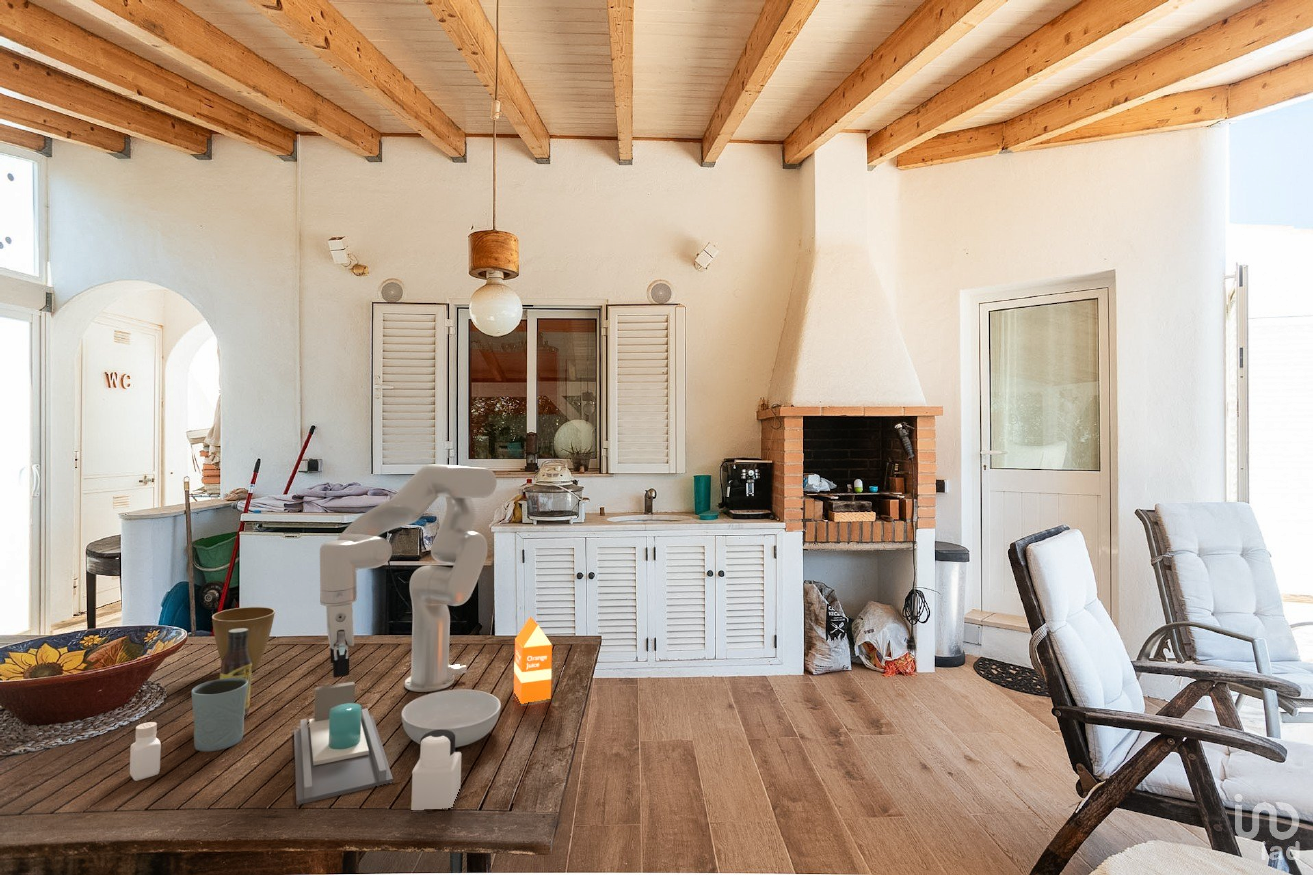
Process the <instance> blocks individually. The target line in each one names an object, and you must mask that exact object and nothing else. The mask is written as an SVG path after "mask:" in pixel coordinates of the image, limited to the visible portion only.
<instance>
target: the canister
mask: <svg viewBox="0 0 1313 875" xmlns="http://www.w3.org/2000/svg"><path fill="white" fill-rule="evenodd" d="M361 718H362V705H361V704H359V703H355V702H354V703H347V704H341V705H338V706H335V707H333V708H331V709H330V714H329V747H330V748H332V749H346V748H350V747H353V746H355V745H357V744H358V743H359V742H360V737H361Z"/></svg>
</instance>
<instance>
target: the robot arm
mask: <svg viewBox="0 0 1313 875" xmlns="http://www.w3.org/2000/svg"><path fill="white" fill-rule="evenodd" d="M497 484H498V482H497V477H496V475H495V473H494V472H493V471H492V470H491V469H489V468H488V467H473V466H472V467H471V466H463V465H454V464H453V465H452V464H428V465H427V464H426V465H425V466H422V467H421V468H420V469H418V470H417V472H415V473H414V474H413V476H412V477H410V479H409V480H408V481H406V483H405V484H404V485H403V486H402V487H401V488H400V489H399V490H398V491H397V493H395V494H394V496H392V497H391V498H390V499H389V500H388V501H385V502H383V503H380V504H379V505H377V506H375V507H373V508H371V509H369V510H368V511H366V512H365V513H362V514H361V515H360V516H358V517H357V518H355V520H353V521H352V522H351V523H350V524H349V525H348V526H347V527H346V528H345V530H343V532H342V533H341V534H340V535H339V536H338V538H337V539H336V540H331V541H327V542H324V543H323V544H321V546H320V548H319V586H320V589H319V592H320V595H319V596H320V601H319V602H320V603H319V604H320V605H322V606H326V629H327V631H326V632H327V638H328V643H329V646H330V647H329V649H330V652H329V653H330V656H329V657H330V659H329V660H330V664H332V669H333V670H332V673H333V674H332V675H333V678H334V679H336V678H341V677H346V676H350V656H349V646H350V647H353V646H354V645H355V635H354V632H355V631H354V629H355V628H354V609H353V603H354V602H356V601H357V599H358V592H357V590H358V589H357V588H358V586H357V575H358V574H357V571H359V570H365V569H376V568H379V567H382V566H383V565H385V564H387V562H388V561H389V560H390V559H391V557H392V554H393V547H392V544H391V543H390V542H389V540H388V539H386V538H384V537H381V536H380V535H382V534H384V533H386V532H389V531H391V530H394V529H398V528H402V527H405V526H408V525H411V524H413V523H415V522H417V521H418V520H419V519H420V518H421V517H422V516H423V514H424V513H425V512H426V511H427V510H428V509H429V508H430V507H431V506H432V505H433V503H434V502H435V501H436V500H437V499H439V497H442V498H443V497H444V498H445V501H446V511H445V515H444V516H443V519H442V521H441V524H440V526H439V527H438V528H439V529H438V530H437V533H436V535H435V538H434V539H433V542H432V545H431V548H430V555H431V557H432V558H433V559H434V560H435V561H436V562H439V563H441V564H442V563H443V564H448V565H452V566H453V567H447V566H442V565H423V566H421V567H419V568H417V569H416V570H414V572H413V573H412V575H411V577H410V579H409V595H410V599H411V606H412V607H411V608H412V627H411V628H412V630H411V631H412V632H411V636H412V637H411V662H410V663H411V664H410V676H409V677H407V678H406V679H405V680H404V687H405V689H407V690H409V691H412V692H416V693H417V692H419V693H424V692H425V693H427V692H437V691H440V690H441V691H442V690H444V689H446V688H448V687H450V686H451V685H453V684H454V682H455V675H457V674H459V675H460V674H466V673H467V670H468V669H467V665H461V666H460V664H453V665H451V664H450V662H449V661H450V632H451V631H450V627H451V626H450V625H451V615H450V610H449V606H453V607H457V606H461V605H464V604H465V603H466V602H467V601H468V600H469V599H470V598H471V597H472V594H473V591H474V589H475V587H476V585H477V583H478V580H479V577H480V575H481V573H482V570H483V568H484V565H485V562H486V559H487V557H488V541H487V538H486V537H485V536H484V535H483V534H482V533H480V532H477V531H474V530H473V529H474V526H475V523H476V521H477V510H476V506H475V504H474V501H473V499H485V498H488V497H490V496H491V495H492V494H494V492H495V490H496V489H497Z"/></svg>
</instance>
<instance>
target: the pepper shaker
mask: <svg viewBox="0 0 1313 875" xmlns="http://www.w3.org/2000/svg"><path fill="white" fill-rule="evenodd" d="M157 726H158V723H157V722H156V721H149V722H144V723H141V724H138V725H137V726H135V742H133V743H132V744H131V745H130V752H129V753H130V755H129V774H130V776H131V778H132V779H133V780H134V781H135V782H136V781H137V782H138V781H141V780H144V779H149V778H150V777H154V776H157V775H158V774H159V773H160V771H161V770H160V769H161V747H162V744H161V741H160V739H159V738H157V733H158V732H157Z"/></svg>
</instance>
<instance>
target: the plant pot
mask: <svg viewBox="0 0 1313 875" xmlns="http://www.w3.org/2000/svg"><path fill="white" fill-rule="evenodd" d="M275 615H276V609H274V608H271V607H267V606H266V607H263V606H247V607H246V606H245V607H238V608H237V607H236V608H230V609H225V610H222V611H219V612H216V613H214V614H212V616H211V622H212V630H213V634H214V635H213V636H214V641H215V645H216V650H217V652H218V655H219V659H220V661H221V662H222V659H223V658H224V656H225V655H226V653H227V652H228V643H229V638H228V631H229V630H232V629H238V628H247V629H248V630H249V631H248V633H249V634H248V636H247V649H248V653H249V656H250V660H251V662H252V672H254V671H256V670H257V669H258V667H259V665H260V662H261V660H262V658H263V656H264V652H265V650H266V648H267V644H268V641H269V639H270V635H271V632H272V628H273V624H274V623H273V622H274V619H275Z"/></svg>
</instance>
